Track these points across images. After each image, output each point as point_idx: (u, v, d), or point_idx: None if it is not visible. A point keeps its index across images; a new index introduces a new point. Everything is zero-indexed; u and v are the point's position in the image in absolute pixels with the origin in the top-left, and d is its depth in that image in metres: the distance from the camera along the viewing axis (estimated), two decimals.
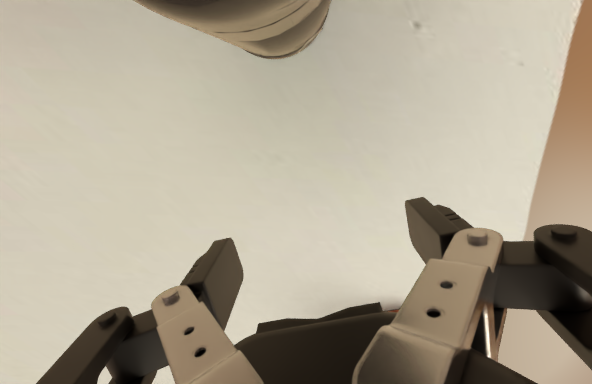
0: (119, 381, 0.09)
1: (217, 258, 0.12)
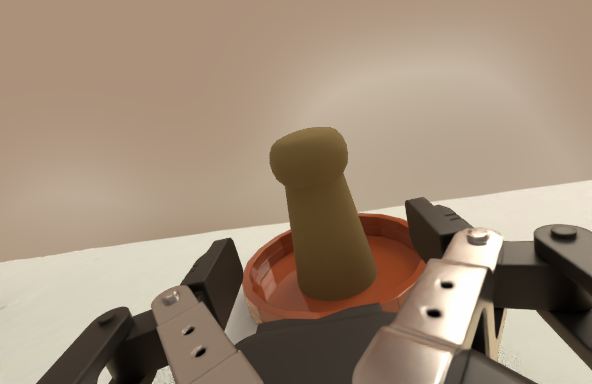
0: (119, 381, 0.09)
1: (217, 258, 0.12)
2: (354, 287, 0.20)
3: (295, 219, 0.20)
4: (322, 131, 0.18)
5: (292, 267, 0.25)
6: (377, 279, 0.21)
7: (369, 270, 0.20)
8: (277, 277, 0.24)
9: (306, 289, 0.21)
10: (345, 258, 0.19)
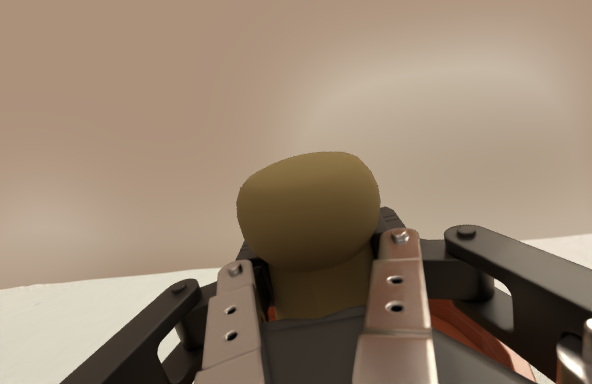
0: (185, 346, 0.10)
1: None
2: None
3: None
4: (335, 165, 0.09)
5: None
6: None
7: None
8: None
9: None
10: None
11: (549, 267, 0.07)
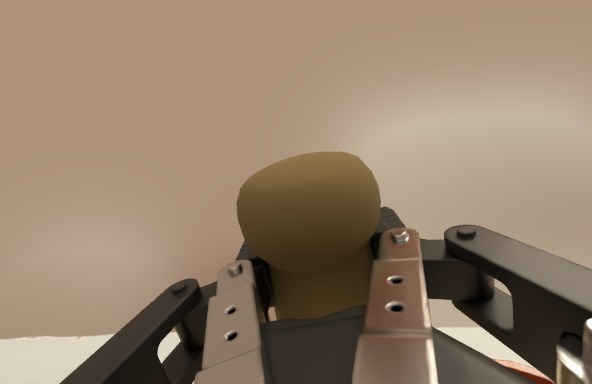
0: (185, 346, 0.10)
1: None
2: None
3: None
4: (335, 165, 0.09)
5: None
6: None
7: None
8: None
9: None
10: None
11: (549, 267, 0.07)
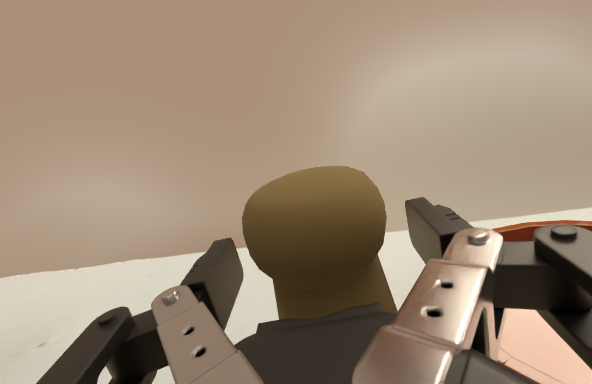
0: (119, 381, 0.09)
1: (217, 258, 0.12)
2: None
3: None
4: (341, 182, 0.09)
5: None
6: None
7: None
8: None
9: None
10: None
11: None
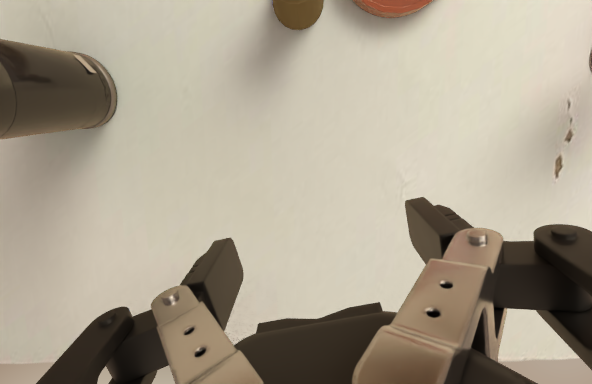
0: (119, 381, 0.09)
1: (217, 258, 0.12)
2: (311, 22, 0.35)
3: (283, 5, 0.31)
4: None
5: None
6: None
7: (320, 9, 0.35)
8: None
9: (283, 23, 0.36)
10: (310, 16, 0.33)
11: None
